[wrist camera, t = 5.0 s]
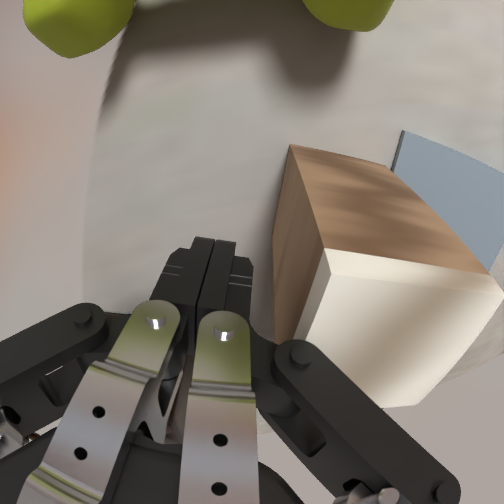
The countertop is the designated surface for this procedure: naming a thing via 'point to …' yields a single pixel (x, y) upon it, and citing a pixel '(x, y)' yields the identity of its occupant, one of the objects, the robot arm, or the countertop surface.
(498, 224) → the mat
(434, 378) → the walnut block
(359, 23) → the dumbbell
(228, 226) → the countertop surface
